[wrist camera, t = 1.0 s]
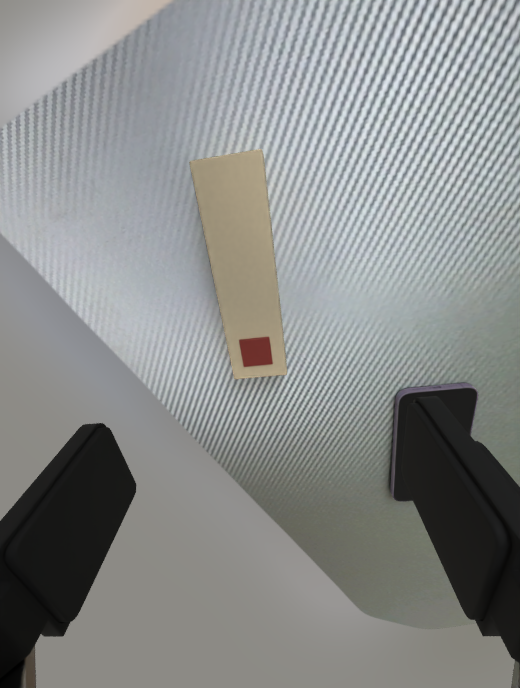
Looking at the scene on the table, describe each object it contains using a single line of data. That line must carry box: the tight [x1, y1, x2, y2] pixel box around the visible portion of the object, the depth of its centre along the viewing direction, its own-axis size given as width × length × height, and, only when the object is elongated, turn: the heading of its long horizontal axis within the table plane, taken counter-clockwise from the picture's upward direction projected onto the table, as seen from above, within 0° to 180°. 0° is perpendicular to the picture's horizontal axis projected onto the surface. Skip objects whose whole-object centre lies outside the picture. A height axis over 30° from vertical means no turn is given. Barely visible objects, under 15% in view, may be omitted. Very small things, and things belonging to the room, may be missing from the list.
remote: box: [189, 149, 287, 379], centre depth 22 cm, size 16×4×3 cm, turn 8°
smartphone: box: [390, 383, 478, 501], centre depth 31 cm, size 7×1×15 cm
